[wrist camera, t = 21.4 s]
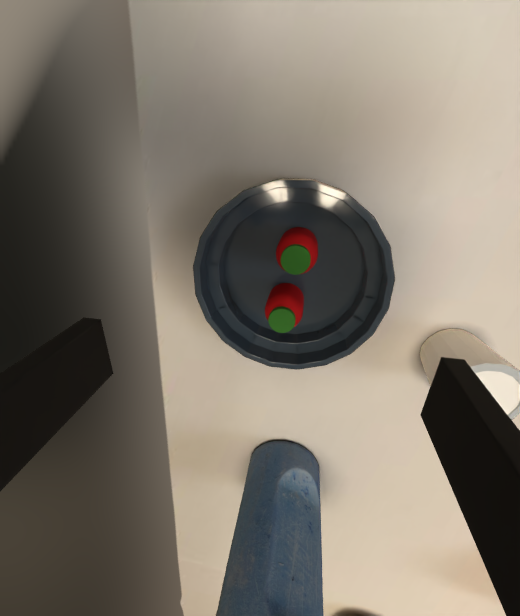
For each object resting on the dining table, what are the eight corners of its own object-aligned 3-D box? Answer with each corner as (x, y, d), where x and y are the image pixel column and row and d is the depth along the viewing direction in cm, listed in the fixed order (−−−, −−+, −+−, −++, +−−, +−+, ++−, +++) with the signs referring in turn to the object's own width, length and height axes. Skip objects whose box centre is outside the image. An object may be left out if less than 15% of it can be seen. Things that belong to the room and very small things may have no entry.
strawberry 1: (272, 240, 29) (264, 253, 24) (304, 219, 27) (302, 228, 23) (292, 271, 29) (288, 289, 25) (324, 251, 28) (326, 267, 24)
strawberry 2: (262, 293, 31) (253, 314, 26) (291, 276, 30) (287, 295, 25) (281, 320, 32) (276, 345, 27) (310, 304, 31) (310, 327, 26)
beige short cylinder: (484, 376, 31) (527, 428, 25) (413, 381, 33) (437, 431, 27) (489, 318, 29) (538, 360, 23) (412, 327, 30) (437, 368, 24)
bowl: (176, 246, 31) (156, 258, 27) (323, 133, 25) (325, 126, 21) (269, 367, 35) (264, 393, 31) (414, 297, 29) (430, 318, 25)
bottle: (237, 461, 43) (110, 940, 16) (280, 426, 39) (207, 993, 12) (287, 495, 45) (247, 990, 18) (334, 466, 40) (376, 1053, 14)
